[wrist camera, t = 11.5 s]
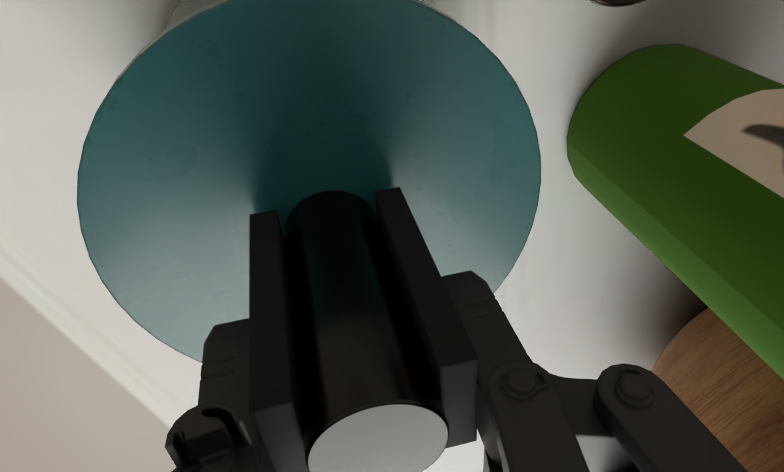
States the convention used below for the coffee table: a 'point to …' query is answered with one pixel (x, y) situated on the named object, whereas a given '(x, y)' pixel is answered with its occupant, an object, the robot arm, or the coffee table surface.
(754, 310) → the wine bottle
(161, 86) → the lid
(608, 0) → the planter
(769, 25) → the coffee table surface
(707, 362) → the bowl
